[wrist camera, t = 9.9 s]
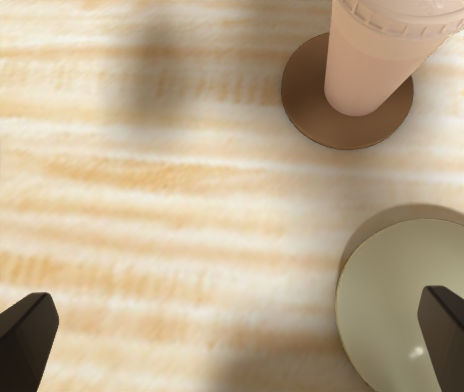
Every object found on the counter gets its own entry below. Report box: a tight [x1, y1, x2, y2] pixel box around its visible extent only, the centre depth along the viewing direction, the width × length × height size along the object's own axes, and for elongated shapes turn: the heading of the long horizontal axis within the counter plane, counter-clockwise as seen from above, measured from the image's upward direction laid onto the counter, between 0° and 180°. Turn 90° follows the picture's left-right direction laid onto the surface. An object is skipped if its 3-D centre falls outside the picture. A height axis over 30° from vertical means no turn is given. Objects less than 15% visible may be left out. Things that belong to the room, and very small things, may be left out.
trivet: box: [281, 32, 413, 150], centre depth 24 cm, size 8×8×1 cm
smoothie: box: [324, 0, 464, 116], centre depth 17 cm, size 6×6×14 cm
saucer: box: [335, 218, 464, 392], centre depth 20 cm, size 10×10×1 cm
